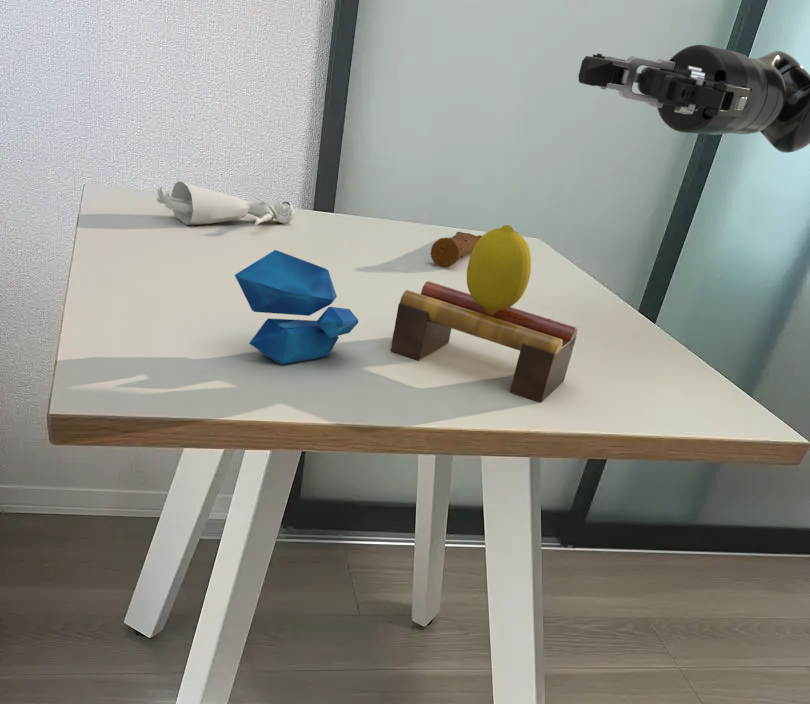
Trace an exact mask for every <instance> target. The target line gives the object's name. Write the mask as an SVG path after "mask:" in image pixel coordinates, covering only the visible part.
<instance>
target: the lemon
mask: <svg viewBox="0 0 810 704" xmlns="http://www.w3.org/2000/svg"><path fill="white" fill-rule="evenodd" d="M481 236H482V237H481V238H480V239H479V240H478V241H477V243H476V244H475V246H474V248H473V251H472V252H470V256H469V260H468V263H467V268H466V285H467V289H468V292H469V294H471V296H472V298H473V299H474V300H475V301H476V302H477V303H478V304H479V305H480V306H482V307H483V308H484V309H485V311H486V312H487V313H488V314H491V315H492V314H494V313H496V312H497V311H499V310H504V309H507V308H509V307H513V306H514V305H515V304H516V303H518V302H519V301H520V300H521V298H523V296H524V293H525V292H526V289H527V287H528V285H529V282H530V278H531V273H532V256H531V251H530V250H531V249H530V247H529V244H528V242H527V241H526V240H525V238H524V237H523V235H521V234H520V233H519V232H517V231H516V230H514V228H513V227H512V225H510V224H503V226H501V227H497V228H493V229H491V230H489V231H487V232H485V233H484V234H483V235H481Z"/></svg>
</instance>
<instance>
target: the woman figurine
mask: <svg viewBox="0 0 810 704" xmlns="http://www.w3.org/2000/svg"><path fill="white" fill-rule="evenodd" d="M162 189H163V186H160V187H158V188H157V191H156V193H157V196H158V197H156V202H157V203H160V204H164V207H165V208H167V209H170V210H172V213H173V216H174V218H175V219H178V220H179V221H181V222H182V223H183V224H185V225H186V226H195V225H197V226H198V225H209V224H210V225H211V224H216V223H224V222H225V223H226V222H230V221H232V222H233V221H237V220H240V219H242V218H245V216H247V215H252V216H254V217H253V218H254V219H255V222H254V224H253V225H254V226H259V224H261V223H263V222H266V221H268V222H272V221H274V220H275V221H277V222H279V223H281V224H283V225H284V224H290V222H292V220H293V219H294V218H295V217H294V216H295V209H294V207H293V205H292V203H291V202H290V201H283V202H281V201H279V202H276V203H275V204H274V206H272V205H271V204H270V203H269V202H268V201H266V200H265V199H262V198H260V197H259V196H253V198H254V199H255V200H249V201H248V200H245V199H243V198H240V197H237V196H232V195H230V194H225V193H222V192H219V191H216V190H213V189H208V188H205V187H201V186H199V185H195V184H191V183H187V182H183V181H180V180H178V181H177V182H176V183H174V185H173V188H172V191H171V194H170V191H167V192H166V193H164V191H163V190H162Z"/></svg>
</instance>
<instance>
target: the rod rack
mask: <svg viewBox="0 0 810 704" xmlns="http://www.w3.org/2000/svg"><path fill="white" fill-rule="evenodd" d="M393 328H394V329H393V333H392V339H391V345H390V352H394V353H396V354H397V355H402V356H404V357H407V358H411V359H413V360H415V361H420V360H423V359H424V358H426V357H428V356H429V355H431V354H432V353H434V352H436V351H437V350H439V349H441V348H442V347H444V346H446V345H447V344H449V342H450V337H451V333H452V330H455V331H458V332H462V333H465V334H467V335H470V336H473V337H477V338H479V339H483V340H486V341H489V342H491V343H495V344H498V345H501V346H504V347H507V348H510V349H512V350H517V351H519V354H518V357H517V362H516V365H515V371H514V373H513V377H512V382H511V386H510V390H509V392H510V393H511V394H515V395H517V396H521V397H524V398H526V399H529V400H533V401H536V402H538V403H542V402H544V400H545V399H547V398H548V396H550V395H551V394H552V393H554V391H555V390H556V389H557V388H558V387H559V386H560V385H562V383H563V382H565V378H566V375H567V371H568V367H569V365H570V362H571V358H572V354H573V351H574V347H575V343H576V339H577V334H578V327H576V326H573V325H569V324H566V323H564V322H560V321H557V320H554V319H551V318H547V317H544V316H541V315H537V314H534V313H531V312H528V311H525V310H523V309H518V308H515V307H513V306H511V307H509V308H507V309H504V310H499V311H497V312H496V313H494V314H492V315H491V314H488V313H487V312H486V311H485V309H484V308H483V307H482V306H480V305H479V304H478V303H477V302H476V301H475V300H474V299H473V298H472V296H471V294H470V293H468V292H464V291H461V290H458V289H455V288H453V287H449V286H445V285H442V284H439V283H436V282H432V281H429V280H427V281H426V282H424V284H423V286H422V288H421V291H420V293H418V292H415V291H412V290H408V289H407V290H405V291H403V293H402V295H401V296H400V300H399V303H398V306H397V311H396V316H395V323H394V327H393Z"/></svg>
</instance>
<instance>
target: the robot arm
mask: <svg viewBox="0 0 810 704" xmlns="http://www.w3.org/2000/svg"><path fill="white" fill-rule="evenodd" d="M641 66H645V67H643V68H642V69H641V71H638V69H639V68H640V67H641ZM577 78H578V82H579V84H583V85H586V86H590V87H599V88H600V89H601V90H605V91H606V90H608V89H609V90H613V91H618V95H619V96H620V97H622V98H624V99H629V100H632V101H633V100H634V101H638V102H644V103H645V104H646V105H648V106H650V107H654V108H656V109H657V112H658V114H659V116H660V119H661V120H662V121H663V123H664V124H665V125H666V126H668V128H670V129H671V130H674V131H677V132H679V133H687V134H700V135H711V136H717V135H719V136H721V135H726V134H732V135H733V134H735V135H751V134H756V133H759V132H760V134H762V136H763V137H764V138H765V139H766V140H767V141H768V143H769V144H770V145H771V146H772V147H773V148H774V149H775V150H777V151H778V152H781V153H784V154H785V153H793V152H797V151H799V150H800V151H801V150H802V149H804V148H806V147H808V146H809V145H810V74H809V72H808V71H807V70H806V69H805V68H804V67H803V66H802V64H800V62H799V61H797V59H795V57H793V56H792V55H790V54H788V53H786V52H784V51H781V50H774V51H771V52H769V53H767V54H765V55H763V56H760V57H758V58H752V57H749V56H747V55H746V54H744V53H740V52H737V51H735V50H734V51H733V50H728V49H724V48H721V47H716V46H710V45H705V44H695V45H690V46H688V47H687V46H686V47H684V48H682V49H681V50H679V51H678V52H677V53H675V54H674V55H673V56H672V57H671V58H670V59H669V60H667V59H663V58H659V59H657V60H652V59H647V58H644V57H643V58H642V57H637V56H629V57H628V58H627V59H622V58H616V57H614V56H610V55H609V56H606V55H603V54H602V53H596V54H592V56H590V55H585V57H584V58H583V59H582V60H581V64H580V68H579V72H578V75H577ZM634 84H637V86H636V87H637V90H638V91H639V92H640V93H637V92H634V91H633V86H634Z"/></svg>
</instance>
